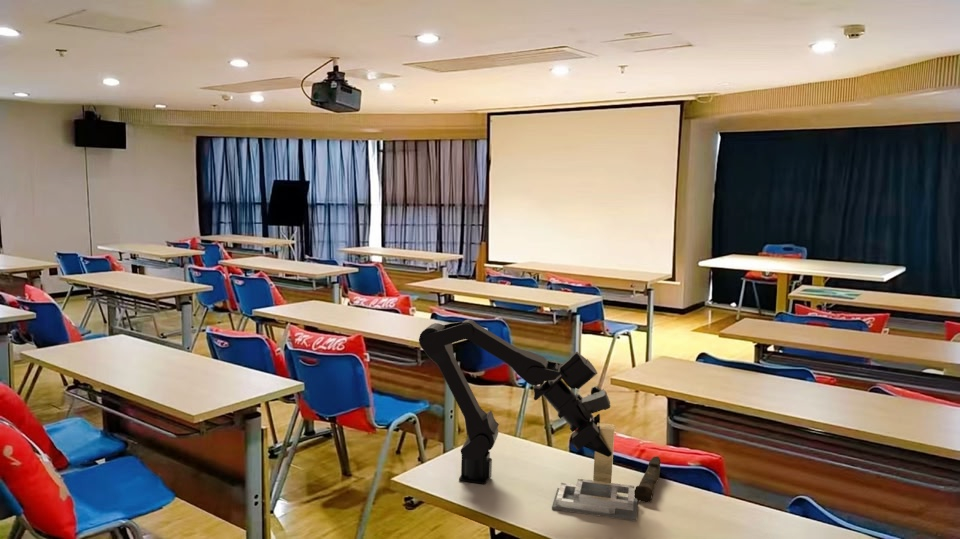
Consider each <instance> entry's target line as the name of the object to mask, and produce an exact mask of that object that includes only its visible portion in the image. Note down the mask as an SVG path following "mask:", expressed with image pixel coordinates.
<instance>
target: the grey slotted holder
mask: <svg viewBox="0 0 960 539" xmlns="http://www.w3.org/2000/svg"><path fill="white" fill-rule="evenodd" d="M558 488H559V492H558V495H557V498H556V507H563V508H570V509H577V510H585V511H592V512H599V513H606V514H613V515H615V508H618V509H626V510H633V505H634V498H635V497H634V495H635V494H634V492H635V485H629V484H621V483H616V482H611V483H608V482H600V481H593V479H585V478H584V479H583V478H577V480H576V484H575V483H574V484H572V483H567V482H566V483H565V482H561V483H560V486H559V487H558ZM565 492H570V493H574V498H573V500H571V499H564V496H565ZM618 493H620V494H626V495H627V497H628V500H621V499H616V498H617V496H618ZM583 494H585V495H583ZM591 495H592V496H591ZM598 496H600V497H598ZM606 497H607V498H606Z"/></svg>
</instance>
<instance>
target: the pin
mask: <svg viewBox="0 0 960 539" xmlns="http://www.w3.org/2000/svg"><path fill="white" fill-rule="evenodd" d="M599 425H600V436H601V437H602V439H603V440H604V442H605V443H606V445H607V446H608V448H609V450H610V451H611V453H612V455H611V456H609V457H607V456H605V455H603V454H601V453H598V452H596V451H594V460H593V463H594V464H593V477H592V481H600V482H608V483H612V478H613V477H612V476H613V462H614V459H613V458H614V442H615V429H616V427H615V426H616V424H613V423H604V422H600V423H597V427H598V426H599Z"/></svg>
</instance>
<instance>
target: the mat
mask: <svg viewBox="0 0 960 539" xmlns="http://www.w3.org/2000/svg"><path fill="white" fill-rule="evenodd" d="M559 488H560V487H557V489H556V492H555V495H554V498H553V502H552V506H551V509H552V510H555V511H562V512H568V513H577V514H584V515H590V516H591V515H592V516H597V517H605V518H611V519H619V520H627V521H631V522H633V521H634V522H637V519H638V515H637V514H638V501H637V498H635V497H634V505H633V510H626V509H618V508H615V515H613V514H606V513H599V512H592V511H585V510H577V509H570V508H563V507H556V498H557V495H558V492H559ZM583 495H585V494H583ZM591 496H592V495H591ZM598 497H600V496H598ZM573 498H574V493H570V492H565V496H564V499H571V500H573ZM606 498H607V497H606ZM616 499H621V500H628V496H622V495H617V498H616Z"/></svg>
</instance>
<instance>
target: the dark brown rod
mask: <svg viewBox="0 0 960 539" xmlns="http://www.w3.org/2000/svg"><path fill="white" fill-rule="evenodd" d="M660 473H661V458H660V457H659V456H653V457H652V458H651V459H650V460H649V462H648V467H647V469H646V471H645V472H644V474H643V477H642V478H641V480H640V482H639V484H638V485H637V486H635V487H634V498H637V502H638V501H639V502H641V503H650V502H651V501H652V498H653V495H654V491H655V488H656V485H657V483H658V481H659V480H660Z"/></svg>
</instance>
